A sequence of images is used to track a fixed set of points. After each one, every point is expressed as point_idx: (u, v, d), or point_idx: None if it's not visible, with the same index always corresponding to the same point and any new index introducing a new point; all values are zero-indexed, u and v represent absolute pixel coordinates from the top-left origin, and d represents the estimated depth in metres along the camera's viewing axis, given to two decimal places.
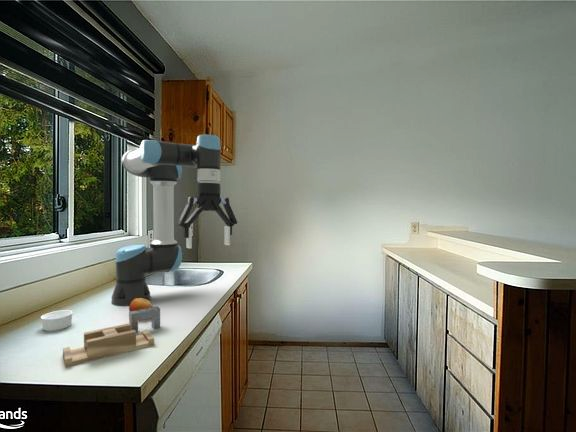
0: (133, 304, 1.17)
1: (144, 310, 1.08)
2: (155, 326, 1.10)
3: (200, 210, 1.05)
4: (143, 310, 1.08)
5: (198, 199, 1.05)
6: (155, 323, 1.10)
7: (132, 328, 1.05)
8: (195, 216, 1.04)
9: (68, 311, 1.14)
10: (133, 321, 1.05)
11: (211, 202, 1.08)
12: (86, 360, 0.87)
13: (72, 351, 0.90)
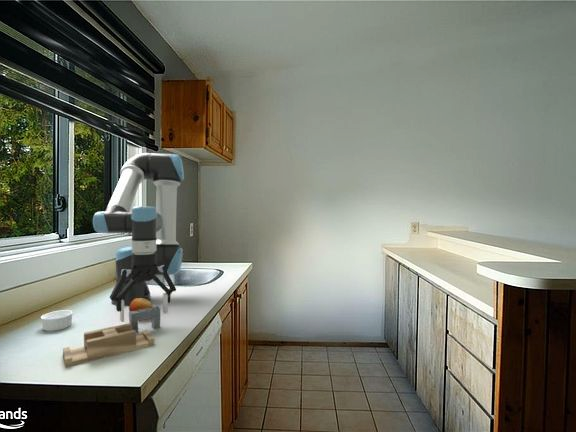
0: (133, 304, 1.17)
1: (144, 310, 1.08)
2: (155, 326, 1.10)
3: (134, 282, 1.05)
4: (143, 310, 1.08)
5: (132, 271, 1.05)
6: (155, 323, 1.10)
7: (132, 328, 1.05)
8: (128, 289, 1.04)
9: (68, 311, 1.14)
10: (133, 321, 1.05)
11: (146, 272, 1.07)
12: (86, 360, 0.87)
13: (72, 351, 0.90)
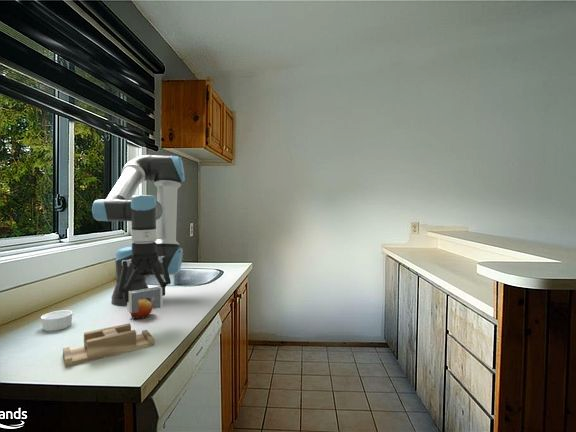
0: None
1: (144, 290, 1.09)
2: (155, 306, 1.10)
3: (136, 272, 1.06)
4: (143, 290, 1.08)
5: (132, 260, 1.05)
6: (155, 303, 1.10)
7: (132, 307, 1.06)
8: (133, 279, 1.05)
9: (68, 311, 1.14)
10: (133, 300, 1.06)
11: (146, 261, 1.08)
12: (86, 360, 0.87)
13: (72, 351, 0.90)
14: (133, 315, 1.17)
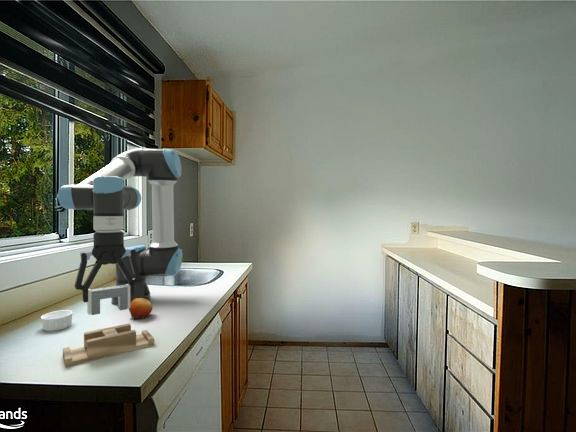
0: (133, 304, 1.17)
1: (108, 288, 0.93)
2: (121, 307, 0.94)
3: (98, 266, 0.90)
4: (106, 288, 0.92)
5: (93, 253, 0.89)
6: (121, 303, 0.94)
7: (93, 308, 0.89)
8: (93, 275, 0.89)
9: (68, 311, 1.14)
10: (94, 300, 0.89)
11: (111, 253, 0.92)
12: (86, 360, 0.87)
13: (72, 351, 0.90)
14: (133, 315, 1.17)
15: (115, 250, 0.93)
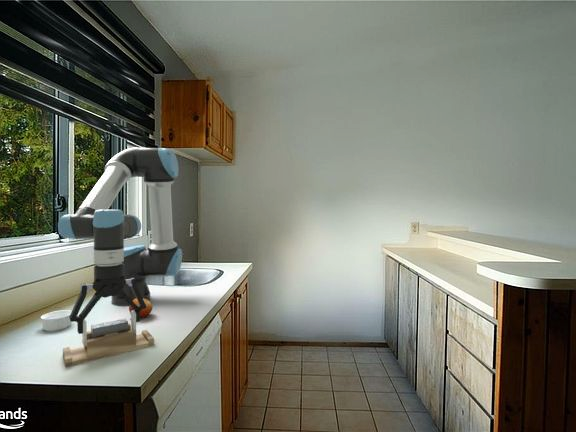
0: None
1: (109, 323, 0.93)
2: None
3: (96, 299, 0.90)
4: (107, 324, 0.93)
5: (93, 286, 0.90)
6: None
7: None
8: (90, 307, 0.89)
9: (68, 311, 1.14)
10: (95, 337, 0.90)
11: (111, 286, 0.92)
12: (86, 360, 0.87)
13: (72, 351, 0.90)
14: None
15: (115, 282, 0.93)
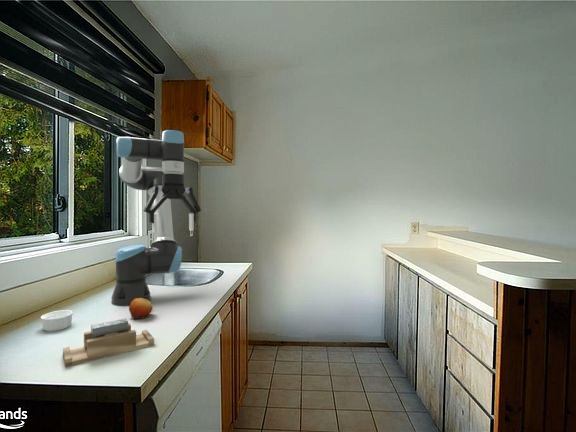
0: (133, 304, 1.17)
1: (109, 323, 0.93)
2: None
3: (164, 198, 1.17)
4: (107, 324, 0.93)
5: (163, 188, 1.17)
6: None
7: None
8: (160, 203, 1.16)
9: (68, 311, 1.14)
10: (95, 337, 0.90)
11: (175, 191, 1.19)
12: (86, 360, 0.87)
13: (72, 351, 0.90)
14: (133, 315, 1.17)
15: (177, 188, 1.20)
